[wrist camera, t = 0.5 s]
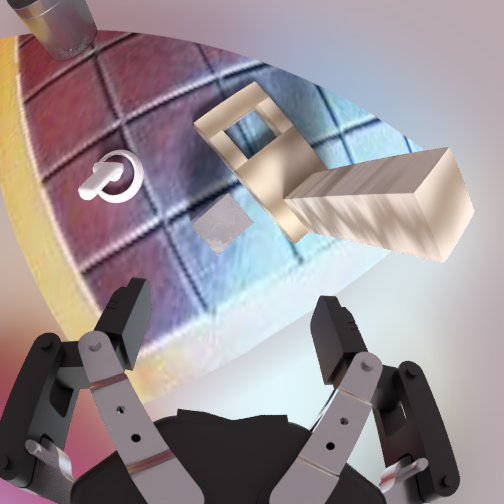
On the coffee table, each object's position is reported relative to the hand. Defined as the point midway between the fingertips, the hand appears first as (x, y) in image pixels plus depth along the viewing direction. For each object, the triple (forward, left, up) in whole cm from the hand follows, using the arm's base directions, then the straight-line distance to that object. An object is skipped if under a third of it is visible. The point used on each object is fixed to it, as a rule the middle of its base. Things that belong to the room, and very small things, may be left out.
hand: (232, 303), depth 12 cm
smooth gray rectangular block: (-1, +3, -27) cm, 27 cm away
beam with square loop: (-2, +15, -27) cm, 31 cm away
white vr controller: (-15, -3, -27) cm, 31 cm away
